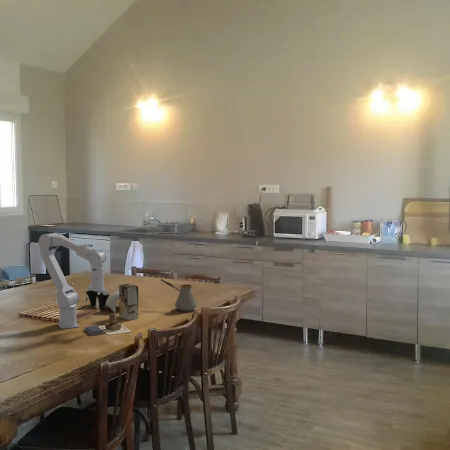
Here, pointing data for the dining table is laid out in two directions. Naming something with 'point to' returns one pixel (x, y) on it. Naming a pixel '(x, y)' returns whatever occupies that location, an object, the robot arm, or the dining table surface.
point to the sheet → (110, 332)
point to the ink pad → (94, 330)
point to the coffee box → (128, 301)
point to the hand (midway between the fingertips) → (97, 307)
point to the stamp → (113, 323)
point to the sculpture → (109, 301)
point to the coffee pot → (184, 298)
